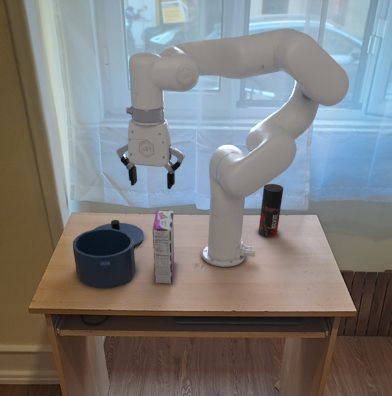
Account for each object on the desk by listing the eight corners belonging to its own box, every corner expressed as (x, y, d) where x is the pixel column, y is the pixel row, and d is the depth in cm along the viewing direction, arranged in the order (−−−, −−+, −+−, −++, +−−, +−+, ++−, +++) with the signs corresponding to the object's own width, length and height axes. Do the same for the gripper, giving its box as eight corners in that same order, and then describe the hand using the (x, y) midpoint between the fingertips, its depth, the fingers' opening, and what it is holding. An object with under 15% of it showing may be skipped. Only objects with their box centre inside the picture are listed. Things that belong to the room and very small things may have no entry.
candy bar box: (157, 263, 144) (155, 209, 133) (174, 263, 144) (174, 210, 133) (154, 284, 135) (151, 228, 125) (172, 284, 135) (171, 229, 125)
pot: (132, 252, 149) (130, 222, 142) (138, 291, 133) (136, 260, 126) (77, 255, 146) (73, 225, 140) (77, 296, 130) (72, 264, 124)
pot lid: (141, 224, 162) (140, 208, 159) (146, 250, 150) (145, 233, 146) (88, 227, 160) (86, 211, 156) (89, 253, 147) (87, 236, 144)
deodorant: (266, 227, 163) (272, 182, 153) (280, 233, 160) (287, 188, 150) (254, 232, 160) (259, 187, 150) (269, 239, 157) (275, 193, 147)
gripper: (107, 116, 115) (115, 188, 126) (180, 121, 112) (181, 194, 124) (118, 107, 121) (124, 176, 132) (187, 112, 118) (188, 182, 129)
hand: (152, 185), depth 128 cm, fingers open, 9 cm apart
